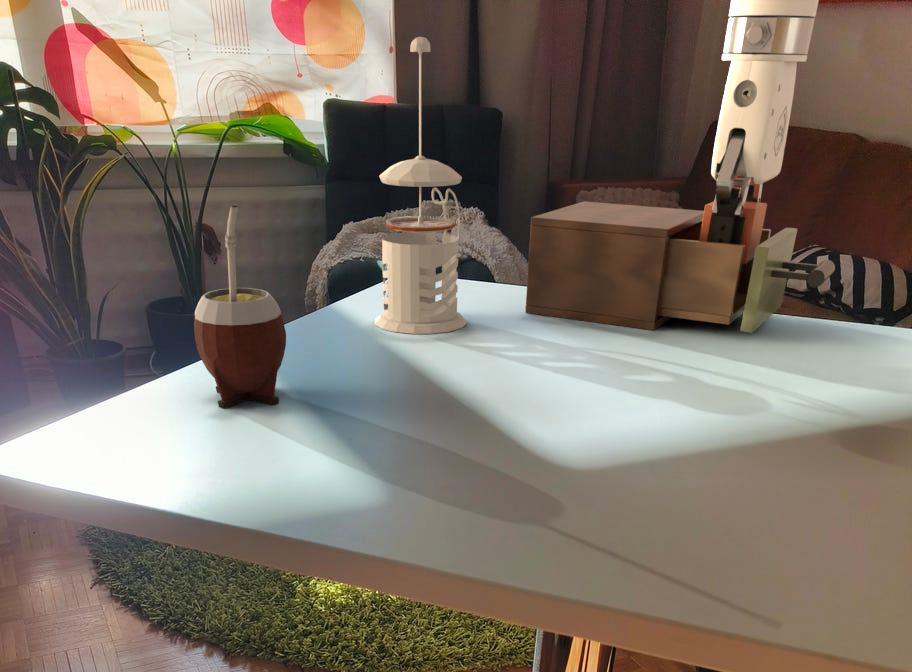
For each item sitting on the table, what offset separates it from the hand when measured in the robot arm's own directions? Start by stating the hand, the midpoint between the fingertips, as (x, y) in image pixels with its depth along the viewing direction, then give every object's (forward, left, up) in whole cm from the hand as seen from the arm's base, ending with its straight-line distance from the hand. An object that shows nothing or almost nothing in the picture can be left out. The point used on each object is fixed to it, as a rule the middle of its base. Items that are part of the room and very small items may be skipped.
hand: (728, 253), depth 92 cm
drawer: (-1, 0, -6) cm, 6 cm away
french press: (+27, +16, -7) cm, 32 cm away
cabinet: (+12, 0, -7) cm, 14 cm away
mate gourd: (+26, +46, -7) cm, 53 cm away
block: (0, 0, 0) cm, 0 cm away
